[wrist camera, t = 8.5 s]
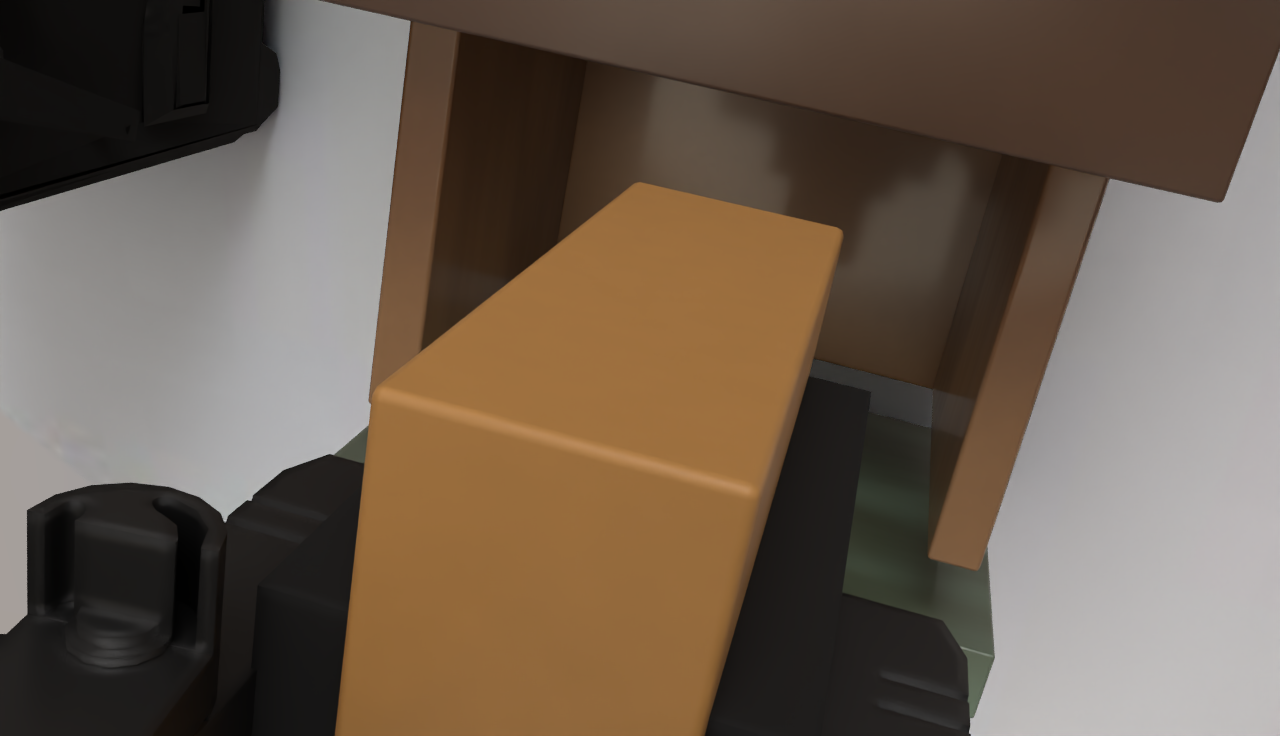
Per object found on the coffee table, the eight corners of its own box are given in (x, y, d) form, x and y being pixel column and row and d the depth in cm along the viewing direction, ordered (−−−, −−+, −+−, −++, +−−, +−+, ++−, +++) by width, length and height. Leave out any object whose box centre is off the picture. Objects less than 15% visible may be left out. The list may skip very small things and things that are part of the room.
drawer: (950, 535, 28) (952, 780, 20) (483, 407, 29) (309, 585, 21) (1136, -46, 23) (1237, -35, 15) (568, -159, 25) (386, -201, 17)
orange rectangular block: (846, 228, 13) (762, 490, 7) (724, 714, 16) (578, 1253, 9) (634, 179, 14) (367, 386, 7) (546, 662, 16) (284, 1145, 10)
